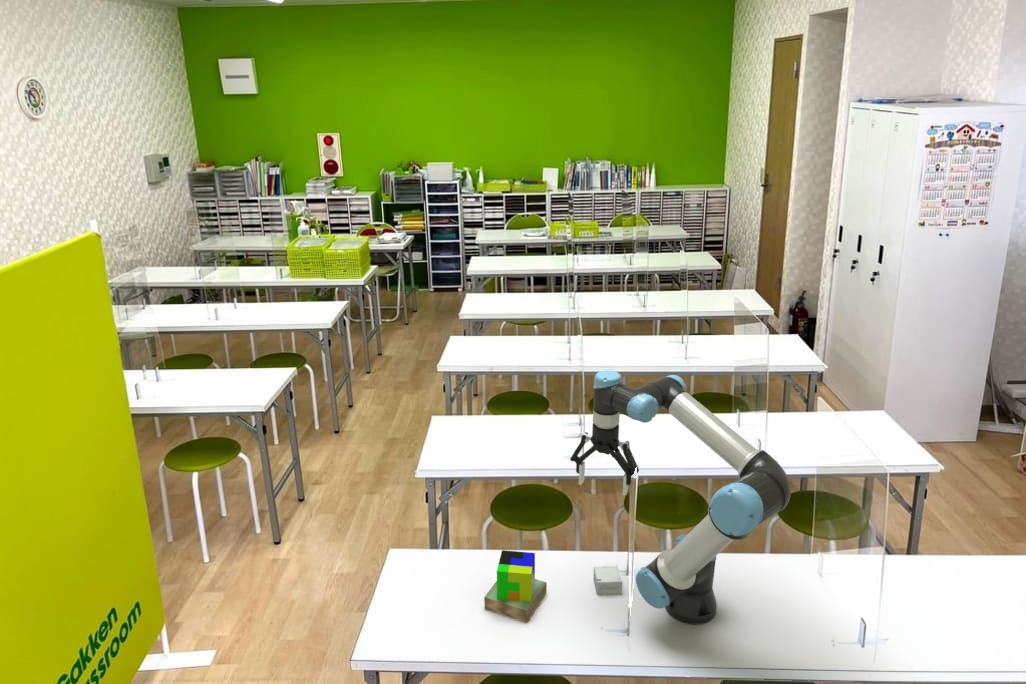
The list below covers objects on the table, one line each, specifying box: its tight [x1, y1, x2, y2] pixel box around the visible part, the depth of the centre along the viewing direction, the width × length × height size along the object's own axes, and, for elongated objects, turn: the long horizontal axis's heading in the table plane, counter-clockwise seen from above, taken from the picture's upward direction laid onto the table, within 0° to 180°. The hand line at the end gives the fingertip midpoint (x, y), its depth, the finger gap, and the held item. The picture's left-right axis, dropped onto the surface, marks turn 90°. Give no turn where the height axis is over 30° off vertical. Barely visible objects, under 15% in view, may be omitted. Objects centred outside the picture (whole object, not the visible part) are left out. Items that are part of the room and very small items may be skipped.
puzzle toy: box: [496, 549, 536, 602], centre depth 228 cm, size 10×10×10 cm
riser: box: [483, 578, 548, 624], centre depth 230 cm, size 14×14×4 cm
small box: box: [593, 565, 623, 596], centre depth 236 cm, size 8×8×5 cm
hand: (603, 488), depth 226 cm, fingers open, 13 cm apart
